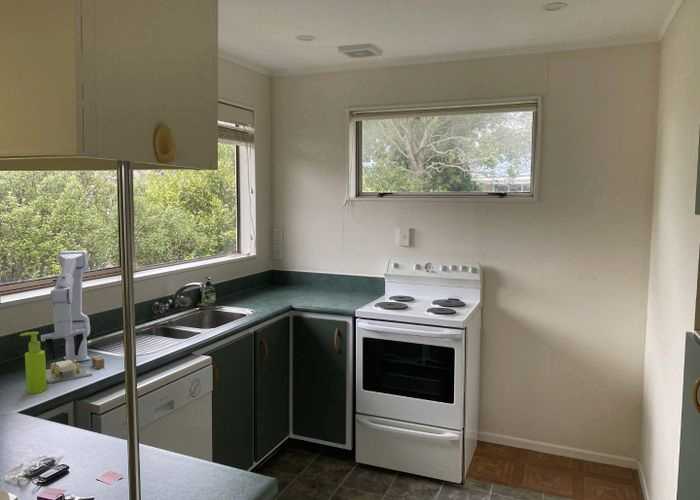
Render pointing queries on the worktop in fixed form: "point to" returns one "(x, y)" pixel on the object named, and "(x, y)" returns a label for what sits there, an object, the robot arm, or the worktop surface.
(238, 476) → the worktop surface
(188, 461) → the worktop surface
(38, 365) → the soap dispenser
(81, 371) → the chassis
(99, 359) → the wooden block
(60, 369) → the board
